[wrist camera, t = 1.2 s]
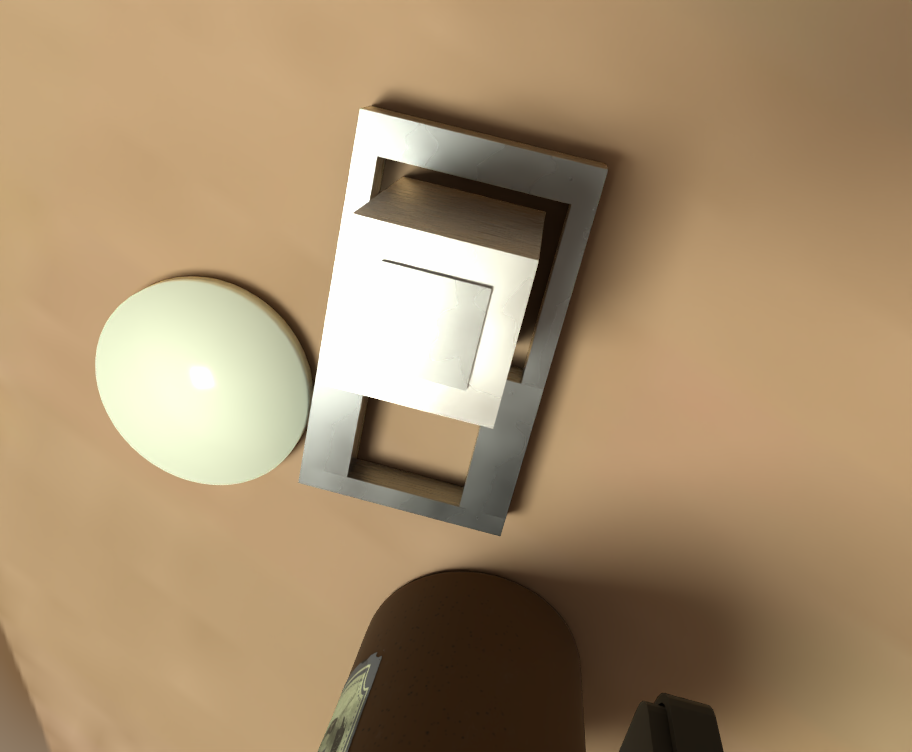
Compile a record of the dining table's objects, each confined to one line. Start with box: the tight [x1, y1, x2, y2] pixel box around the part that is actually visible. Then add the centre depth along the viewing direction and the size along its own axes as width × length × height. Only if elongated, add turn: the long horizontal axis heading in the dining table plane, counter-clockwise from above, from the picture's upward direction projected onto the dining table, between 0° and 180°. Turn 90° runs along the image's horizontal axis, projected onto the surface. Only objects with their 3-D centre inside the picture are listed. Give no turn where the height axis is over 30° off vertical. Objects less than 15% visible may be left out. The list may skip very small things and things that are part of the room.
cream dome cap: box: [95, 276, 313, 485], centre depth 30 cm, size 8×8×1 cm
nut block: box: [323, 176, 546, 429], centre depth 24 cm, size 5×5×7 cm
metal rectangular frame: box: [299, 106, 608, 536], centre depth 28 cm, size 14×8×2 cm, turn 167°
